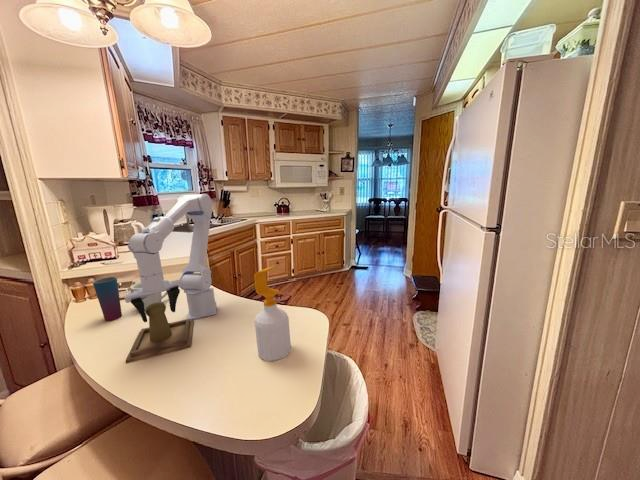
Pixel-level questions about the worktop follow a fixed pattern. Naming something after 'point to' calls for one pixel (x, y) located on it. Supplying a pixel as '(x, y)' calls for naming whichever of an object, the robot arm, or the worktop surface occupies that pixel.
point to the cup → (108, 297)
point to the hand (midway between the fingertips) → (159, 315)
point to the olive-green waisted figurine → (158, 322)
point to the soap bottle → (271, 323)
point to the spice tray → (175, 342)
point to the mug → (148, 299)
